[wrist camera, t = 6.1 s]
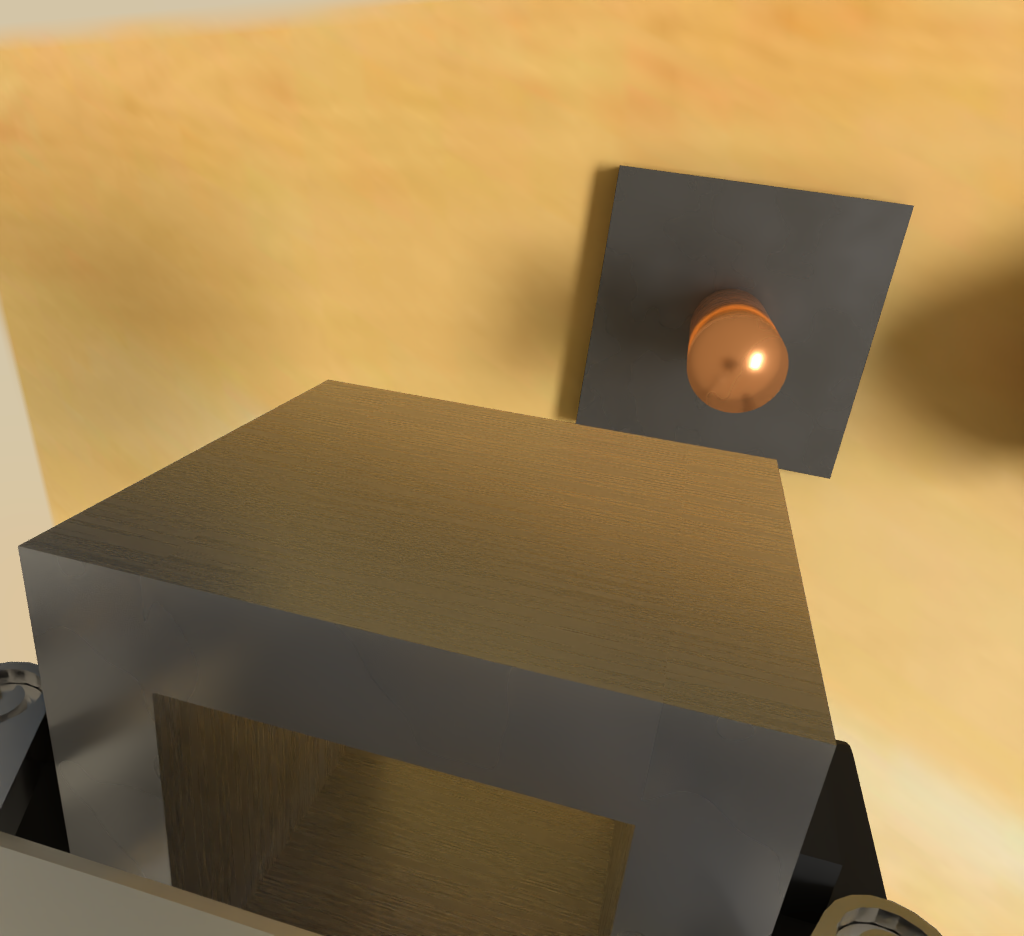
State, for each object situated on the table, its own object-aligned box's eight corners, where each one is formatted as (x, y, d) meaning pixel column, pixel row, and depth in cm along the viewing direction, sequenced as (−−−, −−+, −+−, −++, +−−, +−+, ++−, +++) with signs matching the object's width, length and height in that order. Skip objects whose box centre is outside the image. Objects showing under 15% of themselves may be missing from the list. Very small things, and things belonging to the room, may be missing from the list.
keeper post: (825, 470, 30) (866, 558, 23) (578, 421, 32) (541, 488, 24) (906, 205, 26) (985, 208, 19) (622, 166, 28) (594, 155, 21)
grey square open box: (684, 819, 14) (662, 1250, 8) (325, 722, 15) (101, 1038, 9) (776, 459, 11) (837, 745, 5) (327, 379, 12) (18, 546, 7)
